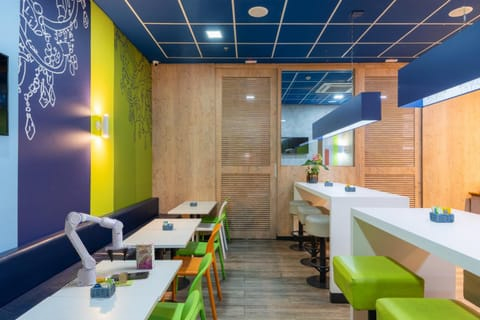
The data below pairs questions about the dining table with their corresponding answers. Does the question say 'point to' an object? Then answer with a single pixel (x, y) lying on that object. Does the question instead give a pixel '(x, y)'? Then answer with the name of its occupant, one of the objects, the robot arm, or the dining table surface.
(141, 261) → the candy bar box
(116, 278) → the graphite rail
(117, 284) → the green rubber pad
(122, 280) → the brass nut block
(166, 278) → the dining table surface
